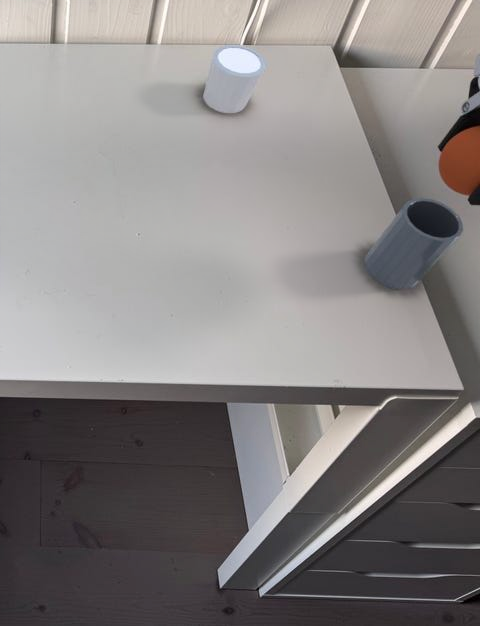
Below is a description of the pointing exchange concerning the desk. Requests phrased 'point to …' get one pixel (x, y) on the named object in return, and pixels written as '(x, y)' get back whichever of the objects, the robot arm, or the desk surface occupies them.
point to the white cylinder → (232, 78)
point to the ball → (462, 161)
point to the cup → (413, 243)
